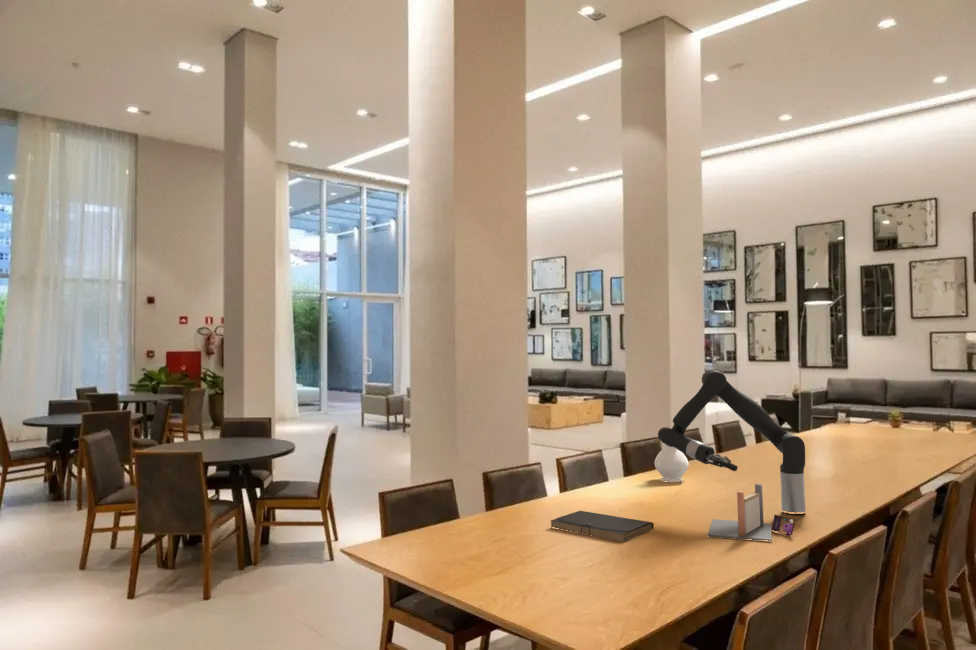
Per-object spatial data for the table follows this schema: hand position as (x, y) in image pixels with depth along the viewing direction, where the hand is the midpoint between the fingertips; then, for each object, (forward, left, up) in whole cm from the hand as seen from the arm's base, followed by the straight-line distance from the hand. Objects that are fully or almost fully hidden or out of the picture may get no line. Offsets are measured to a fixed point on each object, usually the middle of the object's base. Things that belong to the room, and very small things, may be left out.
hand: (736, 468), depth 258 cm
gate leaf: (+9, +5, -21) cm, 23 cm away
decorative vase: (-88, -37, -23) cm, 98 cm away
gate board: (+7, +1, -23) cm, 24 cm away
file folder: (+21, -50, -23) cm, 59 cm away
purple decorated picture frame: (+6, +17, -23) cm, 29 cm away
